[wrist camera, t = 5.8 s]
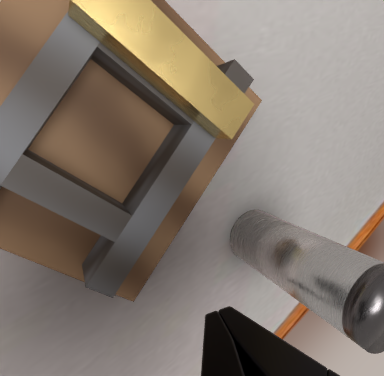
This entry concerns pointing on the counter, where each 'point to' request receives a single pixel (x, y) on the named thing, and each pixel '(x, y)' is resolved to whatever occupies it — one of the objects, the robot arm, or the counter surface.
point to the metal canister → (317, 274)
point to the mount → (95, 150)
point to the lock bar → (166, 61)
